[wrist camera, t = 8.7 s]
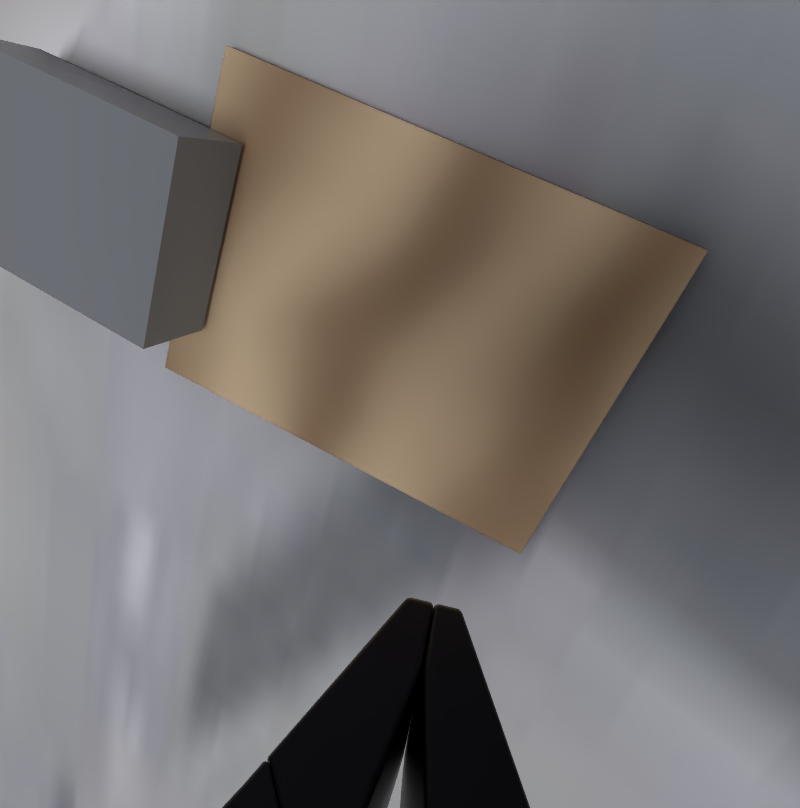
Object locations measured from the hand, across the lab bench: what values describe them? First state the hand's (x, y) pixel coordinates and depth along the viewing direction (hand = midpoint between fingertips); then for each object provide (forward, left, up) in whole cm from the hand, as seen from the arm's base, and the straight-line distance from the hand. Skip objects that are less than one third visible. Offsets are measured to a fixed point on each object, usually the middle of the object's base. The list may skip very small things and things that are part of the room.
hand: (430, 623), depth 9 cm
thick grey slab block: (+12, -1, -10) cm, 15 cm away
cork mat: (+5, 0, -12) cm, 13 cm away
